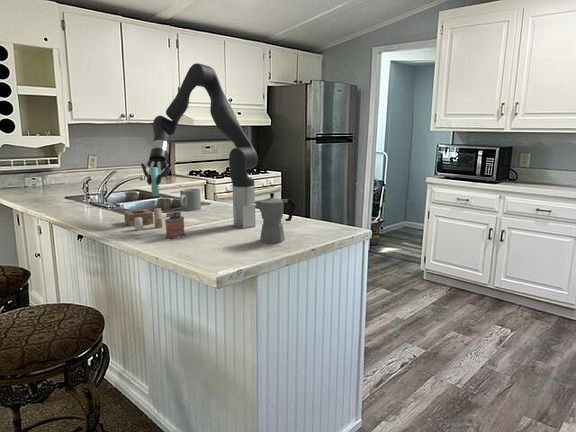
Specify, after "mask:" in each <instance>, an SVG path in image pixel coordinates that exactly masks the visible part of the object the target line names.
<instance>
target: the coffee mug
mask: <svg viewBox="0 0 576 432" xmlns="http://www.w3.org/2000/svg"><path fill="white" fill-rule="evenodd" d="M179 192H180V193H179V194H180V196H179V199H178V202H179V205H180V208H181V211H185V212H191V211H193V212H194V211H200V210H202V203H201V202H202V201H201V189H200V188H182V189H180V190H179Z"/></svg>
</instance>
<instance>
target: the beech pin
mask: <svg viewBox="0 0 576 432" xmlns="http://www.w3.org/2000/svg"><path fill="white" fill-rule="evenodd" d="M162 219H163V217H162V208H161V207H160V208H159V207H157V208H153V222H154V228H155V229H161V228H163V220H162Z"/></svg>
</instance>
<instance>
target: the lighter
mask: <svg viewBox="0 0 576 432" xmlns="http://www.w3.org/2000/svg"><path fill="white" fill-rule="evenodd" d="M181 215H182V212H181V211H172V212H168V213H167V212H166V218H165V219H164V221H165V232H166V236H165V238H166V240H167V239H171V240H174V239H173V238H176V239H179V238H178V237H180V238H183V237H182V236H184V237H185V236H186V233H185V217H184V216H181Z"/></svg>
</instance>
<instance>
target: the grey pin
mask: <svg viewBox="0 0 576 432" xmlns="http://www.w3.org/2000/svg"><path fill="white" fill-rule="evenodd" d="M134 227H135V231H136V230H138V232H141V231H143V230H144V225H143V222H142V218H141V217H138V218H135V226H134ZM140 230H141V231H140Z"/></svg>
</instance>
